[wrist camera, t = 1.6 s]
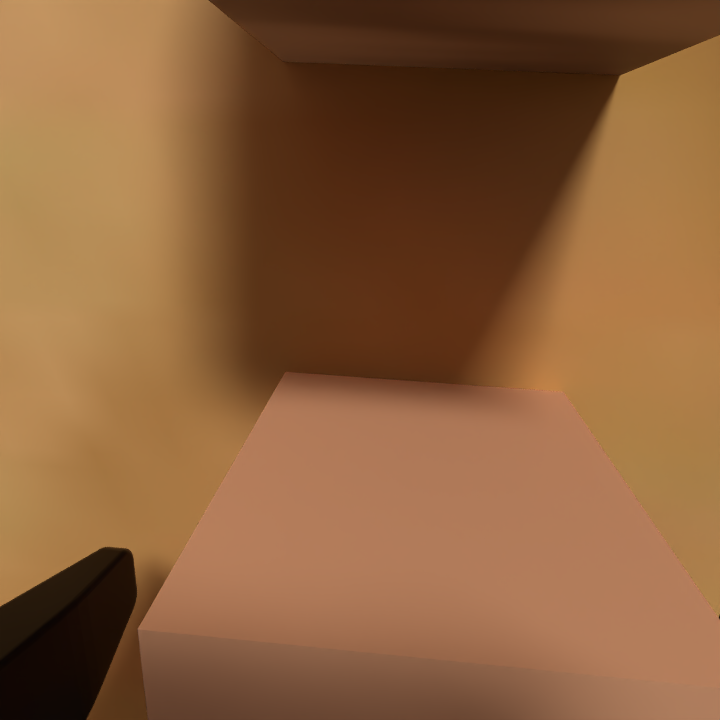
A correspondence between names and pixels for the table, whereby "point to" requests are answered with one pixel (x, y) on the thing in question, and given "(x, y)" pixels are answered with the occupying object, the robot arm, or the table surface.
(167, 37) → the table surface
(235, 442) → the table surface
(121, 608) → the robot arm
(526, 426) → the terracotta block
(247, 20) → the walnut block
